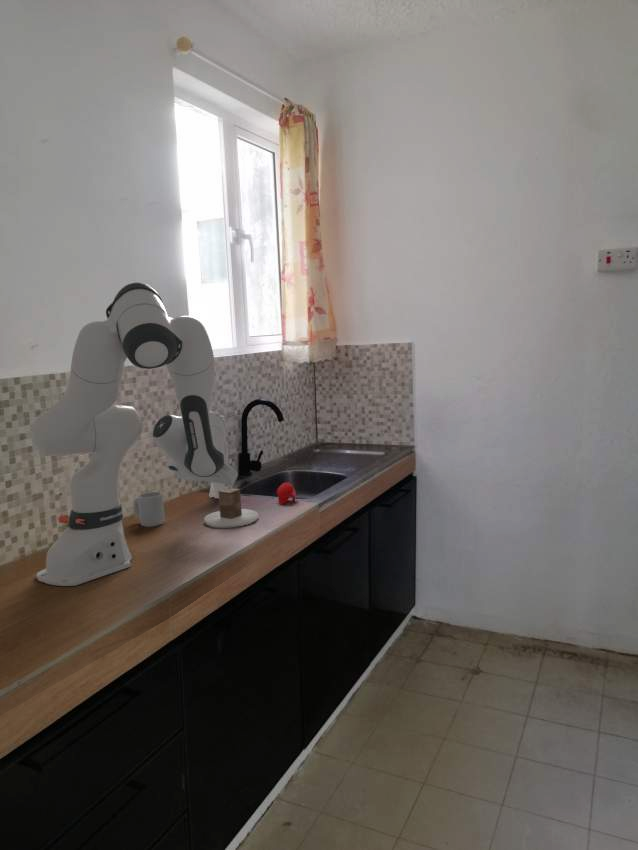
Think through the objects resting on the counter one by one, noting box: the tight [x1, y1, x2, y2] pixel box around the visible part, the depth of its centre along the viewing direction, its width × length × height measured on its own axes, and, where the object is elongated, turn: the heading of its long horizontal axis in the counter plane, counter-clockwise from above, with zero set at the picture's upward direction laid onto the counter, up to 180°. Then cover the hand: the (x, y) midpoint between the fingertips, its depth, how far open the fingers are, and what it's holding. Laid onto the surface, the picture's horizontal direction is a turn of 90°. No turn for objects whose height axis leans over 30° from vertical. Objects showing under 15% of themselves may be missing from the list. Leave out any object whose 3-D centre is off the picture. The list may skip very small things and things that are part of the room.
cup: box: [133, 491, 166, 528], centre depth 188 cm, size 7×10×9 cm
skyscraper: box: [208, 414, 229, 500], centre depth 216 cm, size 8×8×28 cm
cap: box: [276, 482, 297, 505], centre depth 206 cm, size 8×6×6 cm
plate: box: [204, 508, 259, 529], centre depth 188 cm, size 16×16×1 cm
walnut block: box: [218, 488, 242, 519], centre depth 188 cm, size 4×4×8 cm
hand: (218, 485), depth 184 cm, fingers open, 8 cm apart
